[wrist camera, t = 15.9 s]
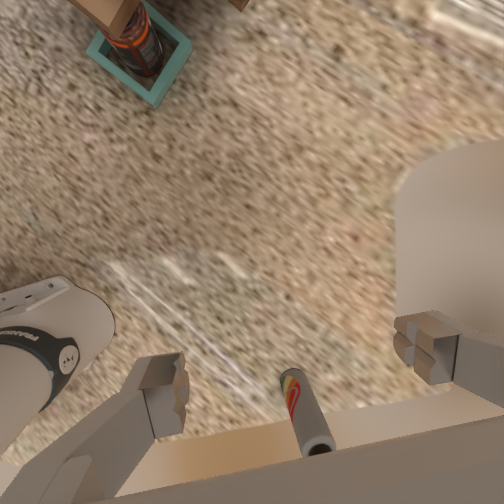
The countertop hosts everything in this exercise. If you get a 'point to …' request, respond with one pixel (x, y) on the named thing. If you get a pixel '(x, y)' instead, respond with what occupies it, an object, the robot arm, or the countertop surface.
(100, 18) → the wooden l-shaped bracket
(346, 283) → the countertop surface
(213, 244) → the countertop surface
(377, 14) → the countertop surface
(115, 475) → the robot arm
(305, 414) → the lotion bottle
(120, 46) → the supplement bottle
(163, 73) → the socket
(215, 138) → the countertop surface
